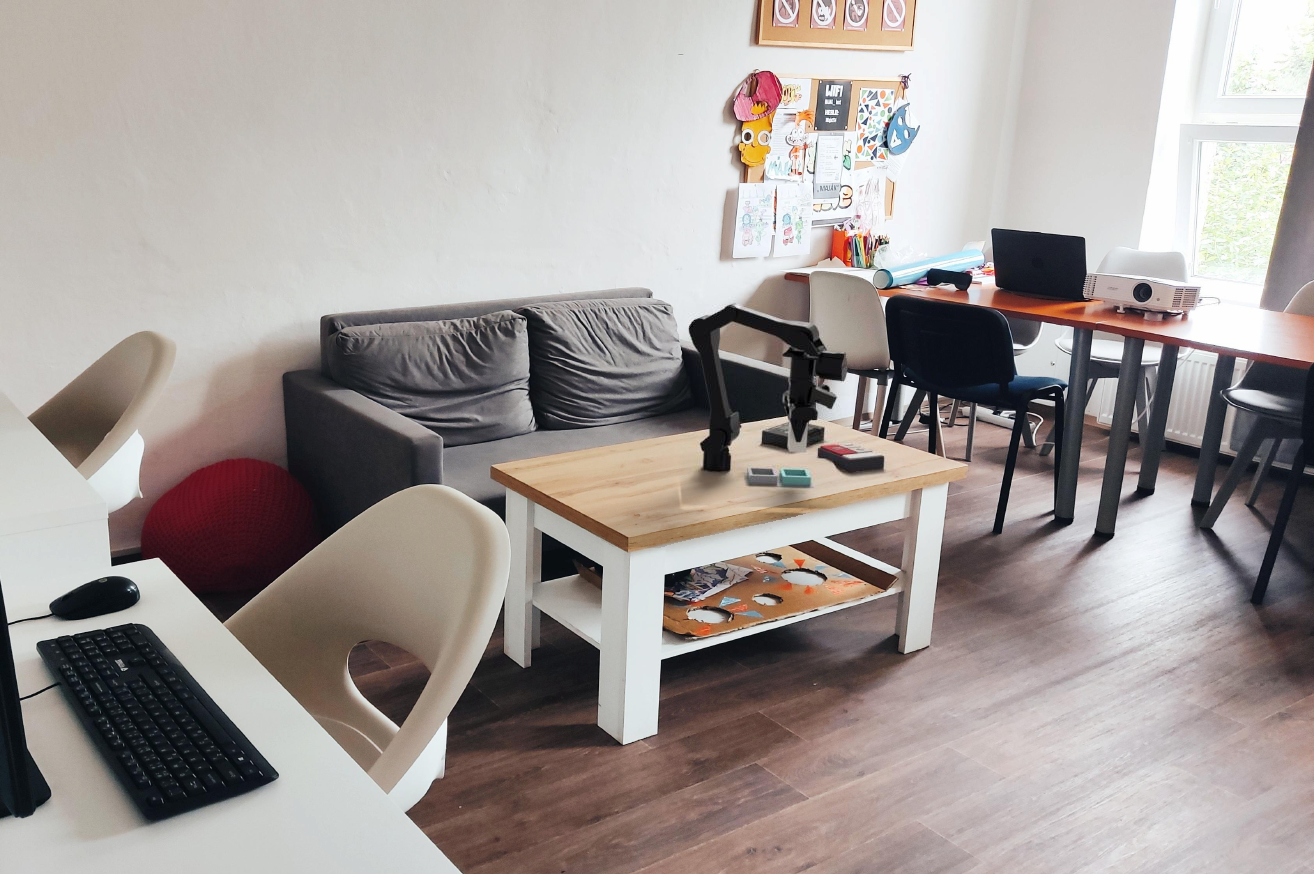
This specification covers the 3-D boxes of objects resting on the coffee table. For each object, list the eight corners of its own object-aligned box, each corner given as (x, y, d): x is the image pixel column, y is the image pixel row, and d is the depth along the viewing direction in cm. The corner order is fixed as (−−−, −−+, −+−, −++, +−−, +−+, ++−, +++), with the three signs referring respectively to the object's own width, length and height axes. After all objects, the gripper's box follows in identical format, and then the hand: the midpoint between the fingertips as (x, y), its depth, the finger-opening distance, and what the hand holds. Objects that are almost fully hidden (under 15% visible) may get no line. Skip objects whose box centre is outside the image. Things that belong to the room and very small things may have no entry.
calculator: (851, 441, 294) (885, 453, 281) (850, 456, 295) (884, 469, 282) (817, 444, 290) (849, 457, 276) (816, 460, 291) (849, 473, 277)
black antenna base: (798, 453, 294) (803, 391, 290) (756, 442, 303) (759, 382, 298) (836, 439, 309) (841, 380, 305) (794, 429, 318) (798, 372, 313)
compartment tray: (746, 489, 261) (747, 477, 261) (743, 476, 271) (744, 465, 270) (813, 491, 262) (814, 479, 261) (808, 478, 271) (808, 467, 270)
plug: (789, 451, 262) (791, 423, 260) (787, 446, 266) (789, 419, 264) (805, 452, 262) (807, 424, 260) (803, 447, 266) (805, 419, 264)
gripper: (841, 386, 250) (836, 451, 254) (829, 369, 268) (824, 430, 272) (793, 384, 250) (788, 450, 254) (784, 367, 268) (780, 429, 272)
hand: (797, 439), depth 263 cm, fingers closed on plug, 4 cm apart
